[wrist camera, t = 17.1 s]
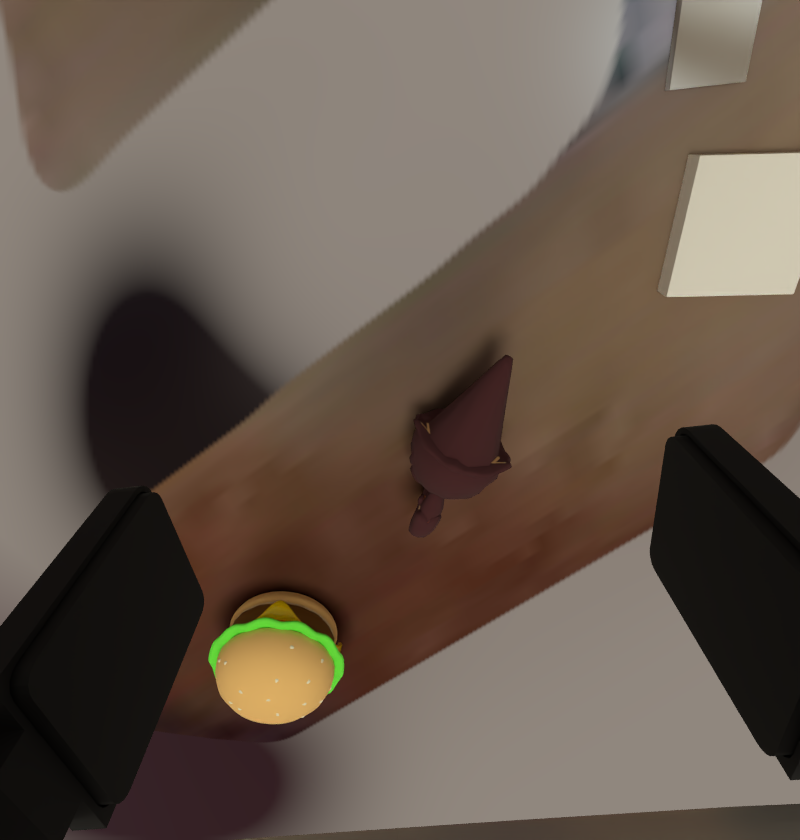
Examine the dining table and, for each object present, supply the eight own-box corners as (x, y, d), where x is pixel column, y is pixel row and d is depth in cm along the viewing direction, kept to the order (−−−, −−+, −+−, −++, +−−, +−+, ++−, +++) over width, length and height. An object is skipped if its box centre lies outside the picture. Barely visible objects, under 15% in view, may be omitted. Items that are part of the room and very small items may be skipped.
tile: (700, 155, 29) (666, 296, 33) (844, 151, 29) (793, 293, 32) (685, 154, 30) (654, 289, 34) (822, 150, 30) (775, 286, 34)
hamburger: (285, 559, 46) (263, 644, 38) (373, 627, 50) (369, 715, 43) (197, 616, 49) (162, 704, 42) (287, 675, 54) (269, 763, 47)
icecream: (444, 351, 29) (363, 525, 37) (564, 408, 29) (455, 570, 37) (463, 314, 35) (389, 471, 43) (563, 360, 35) (469, 509, 43)
